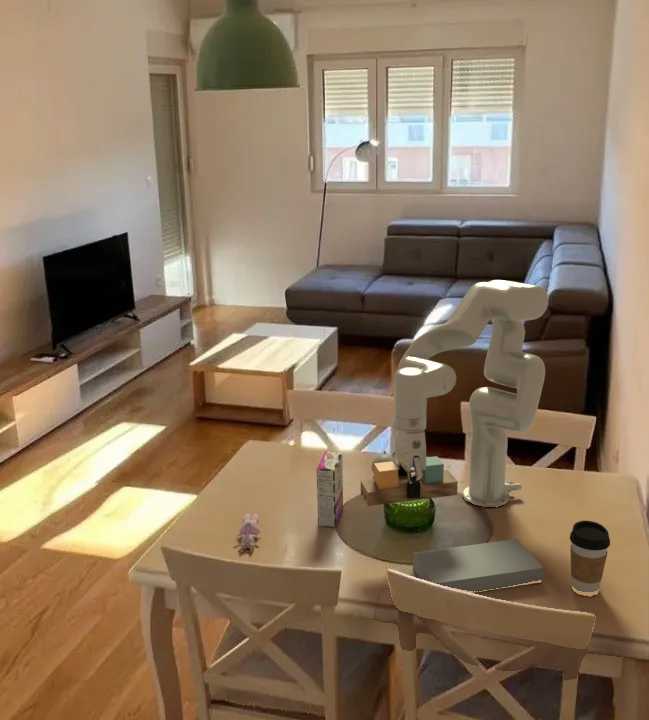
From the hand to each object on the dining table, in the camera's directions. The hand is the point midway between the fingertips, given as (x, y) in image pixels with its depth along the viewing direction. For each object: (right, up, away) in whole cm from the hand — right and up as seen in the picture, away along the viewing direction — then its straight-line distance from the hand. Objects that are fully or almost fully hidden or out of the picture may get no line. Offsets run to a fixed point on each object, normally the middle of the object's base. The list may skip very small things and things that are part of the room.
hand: (408, 490), depth 190 cm
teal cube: (+5, +3, 0) cm, 6 cm away
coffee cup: (+38, -20, -13) cm, 45 cm away
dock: (+15, -18, -7) cm, 25 cm away
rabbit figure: (-39, -14, +10) cm, 42 cm away
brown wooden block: (0, -1, 0) cm, 1 cm away
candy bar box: (-18, -10, +20) cm, 29 cm away
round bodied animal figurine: (-2, -4, +41) cm, 41 cm away
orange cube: (-6, +2, -2) cm, 6 cm away
